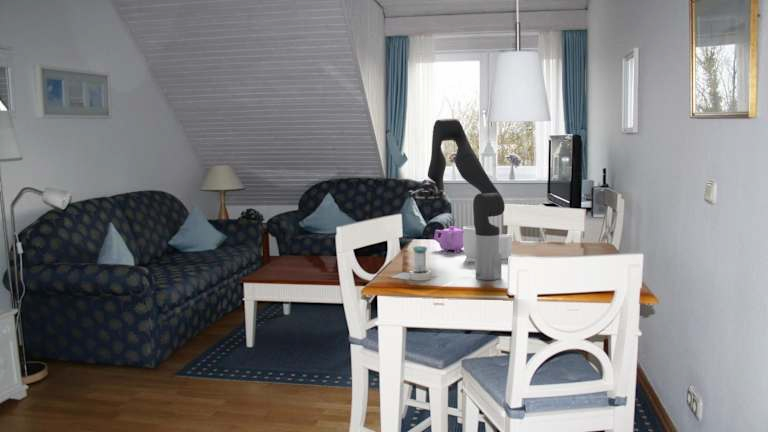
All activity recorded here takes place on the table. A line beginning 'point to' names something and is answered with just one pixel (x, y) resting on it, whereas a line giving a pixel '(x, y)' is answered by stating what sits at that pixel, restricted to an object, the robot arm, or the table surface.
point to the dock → (415, 276)
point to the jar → (469, 243)
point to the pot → (450, 239)
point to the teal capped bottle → (419, 259)
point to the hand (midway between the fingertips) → (424, 195)
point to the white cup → (505, 245)
